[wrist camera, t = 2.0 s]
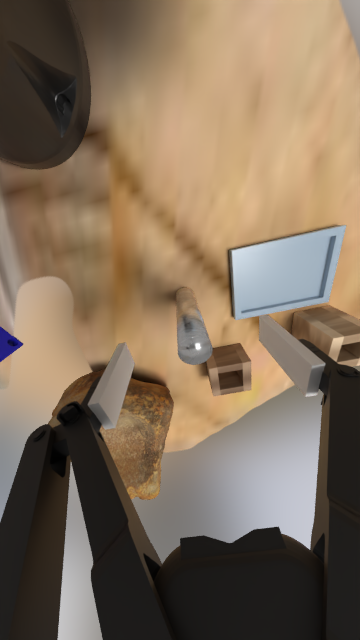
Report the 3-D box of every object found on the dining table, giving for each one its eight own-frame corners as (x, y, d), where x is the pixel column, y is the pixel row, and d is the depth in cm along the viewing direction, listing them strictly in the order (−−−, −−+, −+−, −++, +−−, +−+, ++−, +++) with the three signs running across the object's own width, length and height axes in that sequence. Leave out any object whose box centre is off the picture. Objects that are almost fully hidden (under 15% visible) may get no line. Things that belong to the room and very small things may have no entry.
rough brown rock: (200, 398, 39) (214, 485, 25) (148, 427, 43) (137, 512, 30) (124, 334, 30) (86, 416, 17) (69, 378, 34) (4, 470, 21)
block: (293, 312, 29) (333, 338, 22) (329, 305, 28) (381, 329, 21) (290, 340, 32) (324, 371, 25) (322, 334, 31) (366, 364, 24)
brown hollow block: (203, 350, 32) (208, 369, 28) (240, 343, 31) (251, 361, 27) (208, 375, 35) (213, 396, 31) (241, 369, 35) (251, 389, 30)
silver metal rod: (173, 289, 26) (174, 340, 14) (192, 285, 26) (210, 333, 14) (177, 306, 27) (181, 367, 15) (195, 302, 27) (214, 361, 15)
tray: (229, 249, 24) (231, 250, 23) (338, 225, 23) (346, 225, 22) (233, 316, 29) (235, 320, 28) (322, 299, 28) (328, 301, 27)
